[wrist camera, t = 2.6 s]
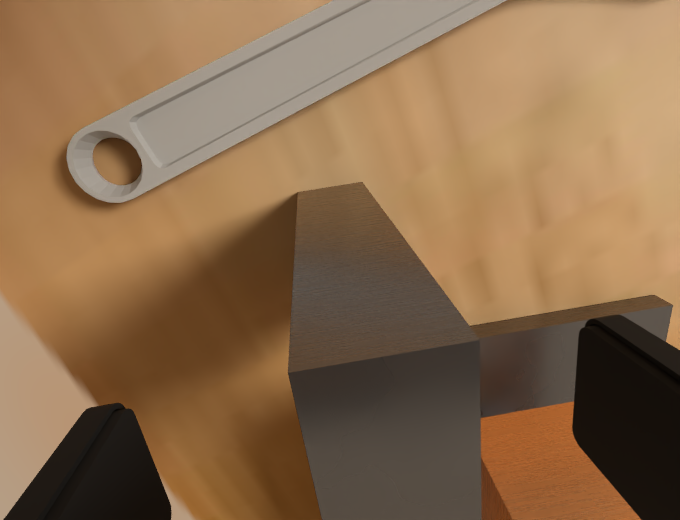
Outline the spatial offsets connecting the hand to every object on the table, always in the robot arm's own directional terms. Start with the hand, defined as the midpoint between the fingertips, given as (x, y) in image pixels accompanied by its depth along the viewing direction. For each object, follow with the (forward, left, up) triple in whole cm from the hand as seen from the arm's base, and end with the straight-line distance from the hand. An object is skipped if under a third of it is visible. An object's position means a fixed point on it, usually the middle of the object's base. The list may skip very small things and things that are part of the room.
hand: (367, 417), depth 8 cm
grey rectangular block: (-1, 0, -9) cm, 9 cm away
